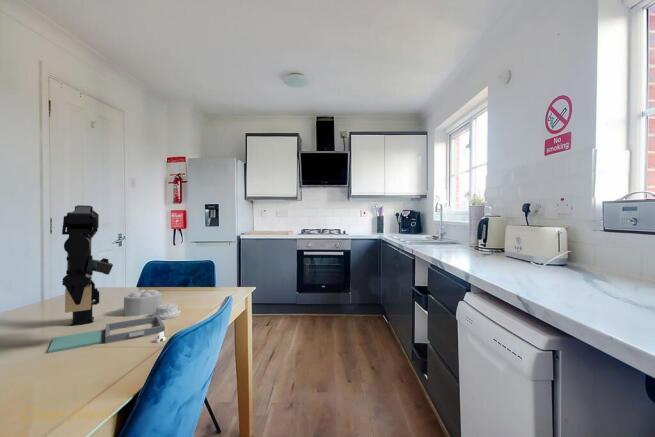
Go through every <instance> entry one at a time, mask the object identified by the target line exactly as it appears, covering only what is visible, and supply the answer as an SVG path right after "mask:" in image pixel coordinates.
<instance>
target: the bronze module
mask: <svg viewBox="0 0 655 437" xmlns="http://www.w3.org/2000/svg"><path fill="white" fill-rule="evenodd" d="M91 286H92V284H91V285H87V286H86V287H85V288H84V291H83V295H82V299H81V303H80V304H79V305H75V303H74V301H73V299H72V297H71V295H70V294H69V292H68V290H67V289H66V288H65V291H64V294H65V295H64V296H65V297H64V313H65V314H66V313H73V312H75V311H83V310H90V309H91Z"/></svg>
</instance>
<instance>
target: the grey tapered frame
mask: <svg viewBox="0 0 655 437" xmlns="http://www.w3.org/2000/svg"><path fill="white" fill-rule="evenodd" d="M153 323H156V324H157V326H152V327H148V328H147V327H146V328H141V329H136V330H131V331H125V332H120V333H119V332H118V333H114V334H110V333H111V332H110V331H112V330H119V329H124V328H129V327H136V326H141V325H149V324H153ZM165 328H166V327H165V324H164V322H163V319H161V318H160V316H154V317H152V316H150V317H149V316H147V317H142V318H137V319H136V318H135V319H129V320H124V321H123V320H122V321H118V322H111V323H106V324H105V339H104V340H105V344H108V343H114V342H120V341H125V340H130V339H137V338H141V337H146V336H151V335H157V334H159V333H160V332H164V333H165V330H166V329H165Z"/></svg>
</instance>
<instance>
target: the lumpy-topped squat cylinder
mask: <svg viewBox="0 0 655 437" xmlns="http://www.w3.org/2000/svg"><path fill="white" fill-rule="evenodd" d="M161 304H163V293H162V292H160V291H158V290H157V289H154V288H153V289H152V288H151V289H147V290H146V289H139V290H137V291H132V292H130V293H129V294H128V295H125V296H124V297H123V316H125V317H141V316H140V315H142V316H147V314H148V315H153V313H155V312H156V307H157V306H158V305H161Z"/></svg>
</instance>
